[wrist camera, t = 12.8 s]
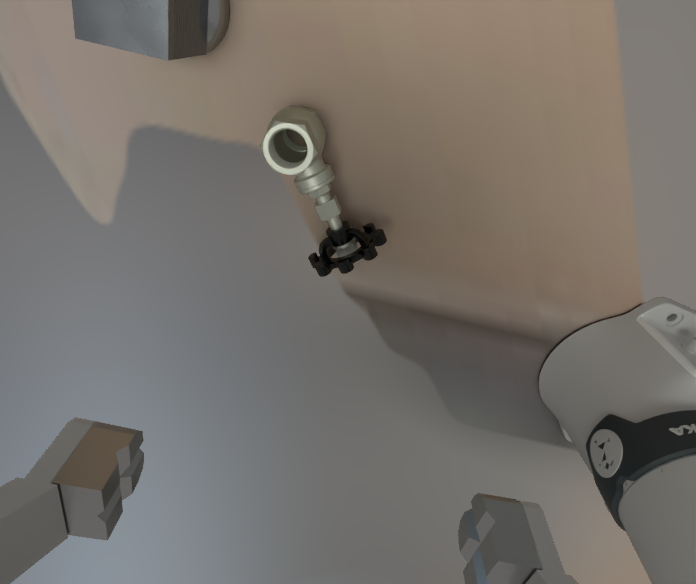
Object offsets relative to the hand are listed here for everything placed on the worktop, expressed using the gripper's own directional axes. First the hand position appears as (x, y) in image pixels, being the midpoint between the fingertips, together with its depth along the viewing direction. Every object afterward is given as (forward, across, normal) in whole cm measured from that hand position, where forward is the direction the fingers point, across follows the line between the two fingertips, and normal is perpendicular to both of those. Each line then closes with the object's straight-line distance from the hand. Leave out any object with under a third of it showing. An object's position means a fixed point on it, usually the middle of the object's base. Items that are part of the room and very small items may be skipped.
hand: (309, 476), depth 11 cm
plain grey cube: (+26, -14, +8) cm, 31 cm away
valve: (+29, -2, -2) cm, 30 cm away
